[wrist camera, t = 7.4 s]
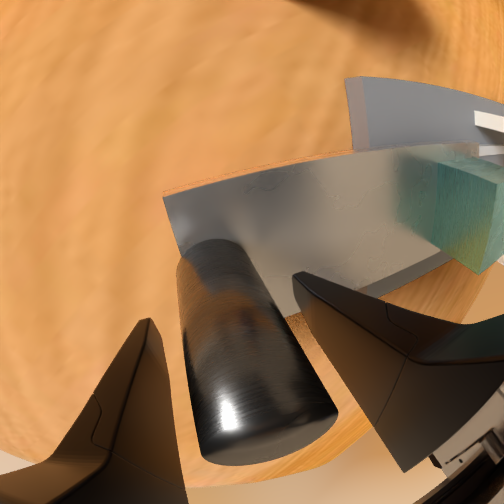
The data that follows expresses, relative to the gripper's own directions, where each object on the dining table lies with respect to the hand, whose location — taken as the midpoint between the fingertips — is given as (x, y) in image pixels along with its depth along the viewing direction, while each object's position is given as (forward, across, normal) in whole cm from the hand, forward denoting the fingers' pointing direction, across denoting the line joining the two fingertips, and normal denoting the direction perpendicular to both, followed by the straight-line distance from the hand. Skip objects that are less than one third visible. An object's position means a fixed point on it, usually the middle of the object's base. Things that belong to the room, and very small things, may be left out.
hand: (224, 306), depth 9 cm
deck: (+6, -22, 0) cm, 23 cm away
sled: (+3, -8, 0) cm, 9 cm away
